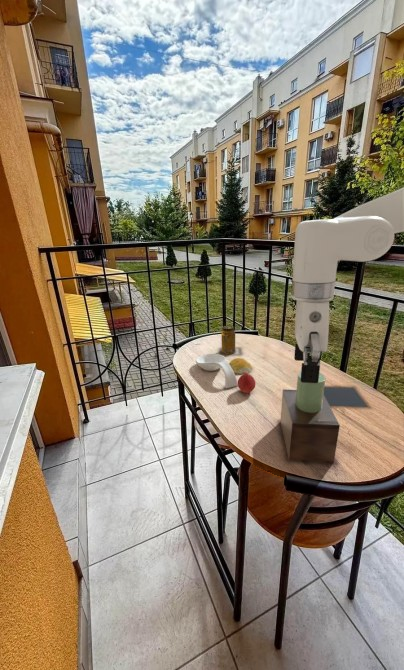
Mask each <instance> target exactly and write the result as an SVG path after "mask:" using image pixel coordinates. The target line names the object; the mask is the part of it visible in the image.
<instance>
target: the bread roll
mask: <svg viewBox="0 0 404 670" xmlns="http://www.w3.org/2000/svg"><path fill="white" fill-rule="evenodd" d="M228 363H229V365H230V366H231V368H232V370H233V372H234V374H241V375H242V374H245V373H246V372H248V373H250V371H251V369H252V366H251V363H249V362H248V361H247V360H245V359H244V358H241V357H236V358H233V359H231V360H230V361H229V362H228Z"/></svg>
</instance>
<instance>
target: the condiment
mask: <svg viewBox="0 0 404 670" xmlns="http://www.w3.org/2000/svg"><path fill="white" fill-rule="evenodd" d="M221 352H222V354H225V355H232V354H235V352H236V332H235V327H234V326H233V325H224V326H222V327H221Z"/></svg>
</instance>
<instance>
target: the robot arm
mask: <svg viewBox="0 0 404 670" xmlns="http://www.w3.org/2000/svg"><path fill="white" fill-rule="evenodd" d="M398 233H404V186H403V187H401V188H399V189H396V190H395V191H392V192H389V193H388V194H385V195H382V196H380V197H378V198H374V199H372V200H370V201H367V202H365V203H363V204H360V205H359V206H356V207H354V208H352V209H350V210H348V211H346V212H344V213H342V214H340V215H338V216H336V217H334V218H332V219H330V218H329V219H312V220H304V221H301V222H299V223H298V224H297V226H296V228H295V234H294V249H293V263H292V280H291V294H290V295H291V296H290V297H291V299H292V300H295V301H296V302H295V303H296V304H295V305H296V306H295V315H294V317H295V319H294V337H295V344H294V356H293V357H294V361H296V362H297V361H298V362H301V369H300V372H301V382H302V383H318V380H319V372H320V370H321V352H322V353H326V352H328V346H329V331H330V301H332V300H334V296H335V295H334V294H335V286H336V278H337V269H338V262H339V261H351V262H359V263H360V262H361V263H363V262H371V261H374V260H377V259H379V258H381V257H382V256H384V255H385V254H386V253H387V252H388V251H389V250H390V249H391V247H392V245H393V243H394V240H395V234H398Z"/></svg>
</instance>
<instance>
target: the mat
mask: <svg viewBox="0 0 404 670" xmlns="http://www.w3.org/2000/svg"><path fill="white" fill-rule="evenodd" d="M324 396H325V398H326V400H327V402H328V404H329V405H330V407H349V408H350V407H353V408H368V406H367V404H366V402H365V401H364V399H363V398H362V397H361V396H360V394H359V392H358V391H357V390H356V389H355V387H344V386H343V387H342V386H324Z"/></svg>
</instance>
